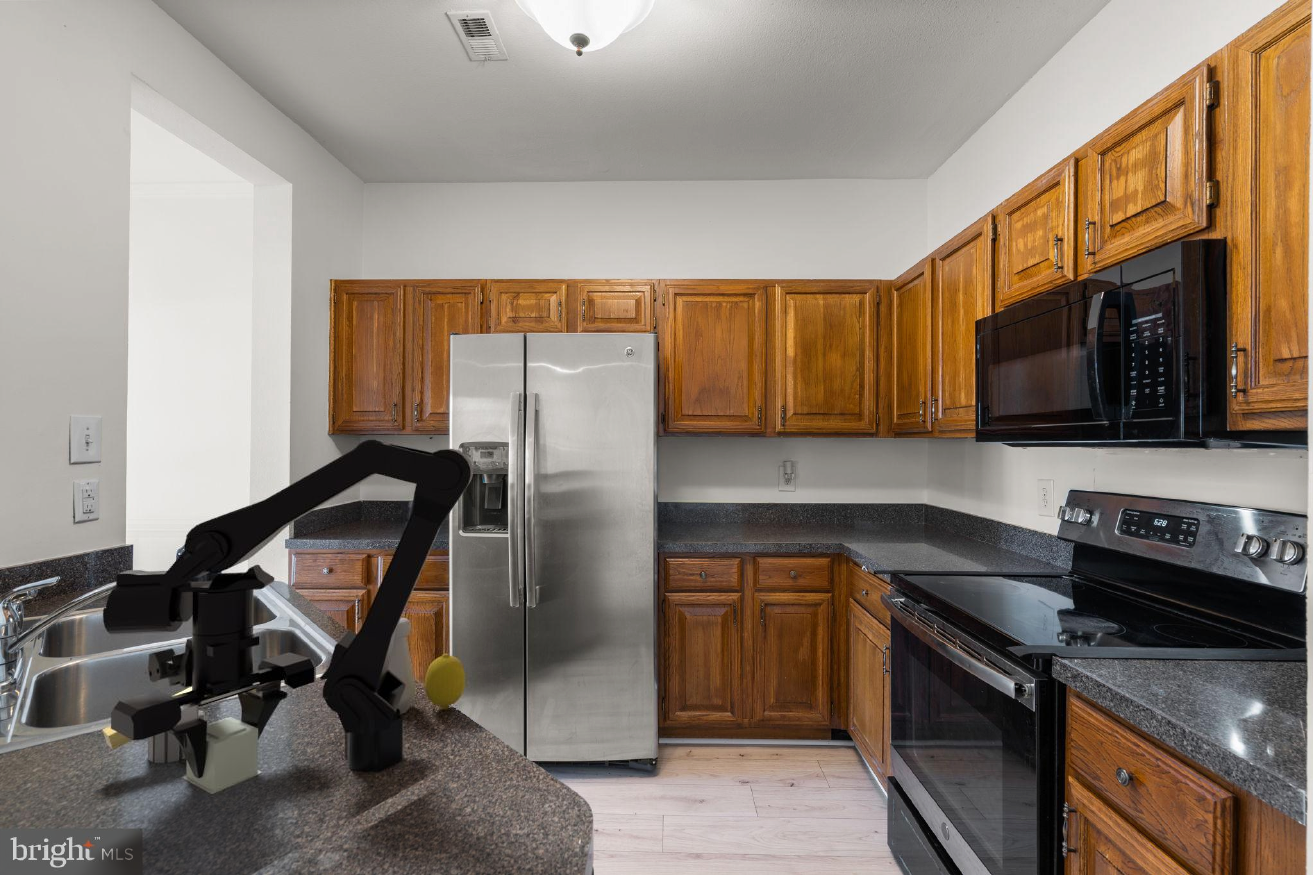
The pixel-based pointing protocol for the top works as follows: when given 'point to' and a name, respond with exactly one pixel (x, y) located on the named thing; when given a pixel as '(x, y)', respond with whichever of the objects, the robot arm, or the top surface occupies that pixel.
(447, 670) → the lemon
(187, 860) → the top surface
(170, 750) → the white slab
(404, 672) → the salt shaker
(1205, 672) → the top surface
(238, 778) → the pale green block
